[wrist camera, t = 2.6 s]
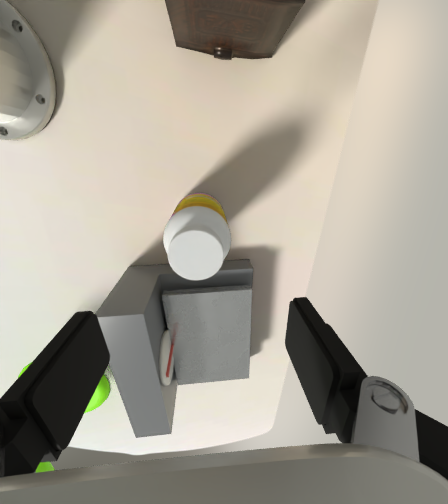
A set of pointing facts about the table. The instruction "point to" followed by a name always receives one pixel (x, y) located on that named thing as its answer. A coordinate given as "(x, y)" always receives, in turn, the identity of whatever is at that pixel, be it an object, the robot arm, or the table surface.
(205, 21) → the manual coffee grinder
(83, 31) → the table surface
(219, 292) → the pan
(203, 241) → the supplement bottle
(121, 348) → the scale
